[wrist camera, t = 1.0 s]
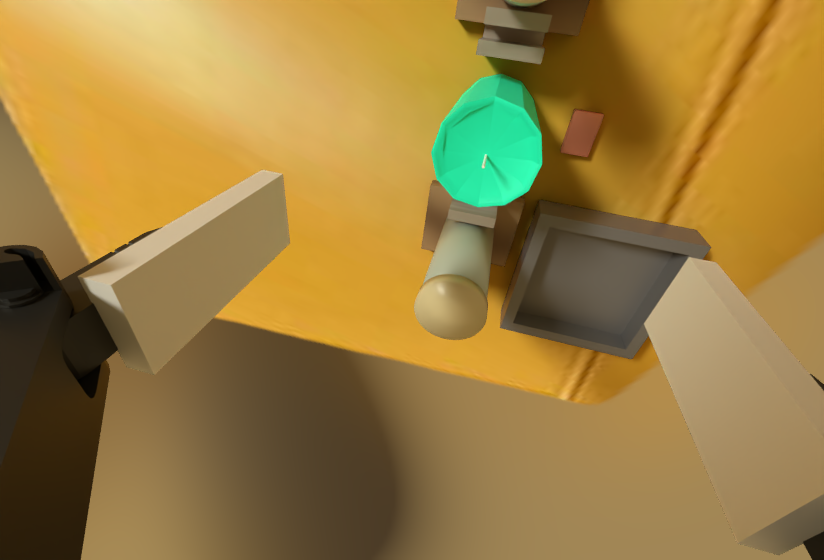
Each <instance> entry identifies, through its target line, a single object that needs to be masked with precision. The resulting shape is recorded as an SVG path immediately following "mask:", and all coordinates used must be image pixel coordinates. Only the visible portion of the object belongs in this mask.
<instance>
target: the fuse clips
mask: <svg viewBox="0 0 824 560" xmlns="http://www.w3.org/2000/svg"><path fill="white" fill-rule="evenodd" d="M589 1H590V0H546V1H544V2H543V3H541V4H539V5H537V6H535V7H531V8H516V7H513V6H511V5H509V4H508V3H506V2H505V1H504V0H458V2H457V9H456V16H455V19H459V20H466V21H474V22H481V23H484V24H485V28H484V34H483V37H482V38H480V39H479V41H478V46H477V52H476V55H482V56H489V57H496V58H502V59H509V60H516V61H522V62H529V63H536V64H541V62H542V58H543V55H544V51H545V48H544V47H543V46H542V44H543V40H544V36H545V33H548V32H553V33H560V34H567V35H574V36H578V35H579V32H580V29H581V26H582V23H583V19H584V16H585V13H586V10H587V7H588V4H589ZM603 117H604V114H603V113H597V112H590V111H584V110H578V109H574V112H573V115H572V117H571V120H570V123H569V126H568V129H567V132H566V135H565V137H564V140H563V143H562V146H561V149H560V152H561V153H566V154H572V155H577V156H583V157H588V155H589V152H590V150H591V147H592V145H593V142H594V140H595V137H596V135H597V132H598V130H599V127H600V125H601V122H602V120H603ZM524 204H525V199H524V198H522V197H518V198H516V199H514V200H513V201H511V202H509V203H508V204H506V205H502V206H488V207H476V206H473V205H470V204H467V203H464V202H462V201H459V200H456V199H453V198H452V196H451V195H450V194H449V193H448V192H447V190H446V189H445V188H444V187H443V186H442V185H441V183H440V182H439V181H435V180H433V181H432V183H431V186H430V193H429V200H428V206H427V213H426V220H425V227H424V234H423V241H422V247H421V248H422V249H426V250H431V251H435V249H436V246H437V243H438V241H439V238H440V235H441V232H442V229H443V226H444V224H445V221H446V218H447V219H451V220H456V221H460V222H465V223H470V224H475V225H480V226H485V227H489V228H494V237H493V247H492V256H491V264H495V265H500V266H504V267H505V264H506V260H507V257H508V254H509V251H510V248H511V245H512V242H513V239H514V235H515V232H516V229H517V226H518V223H519V220H520V217H521V214H522V210H523V207H524ZM447 216H448V217H447Z"/></svg>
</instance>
